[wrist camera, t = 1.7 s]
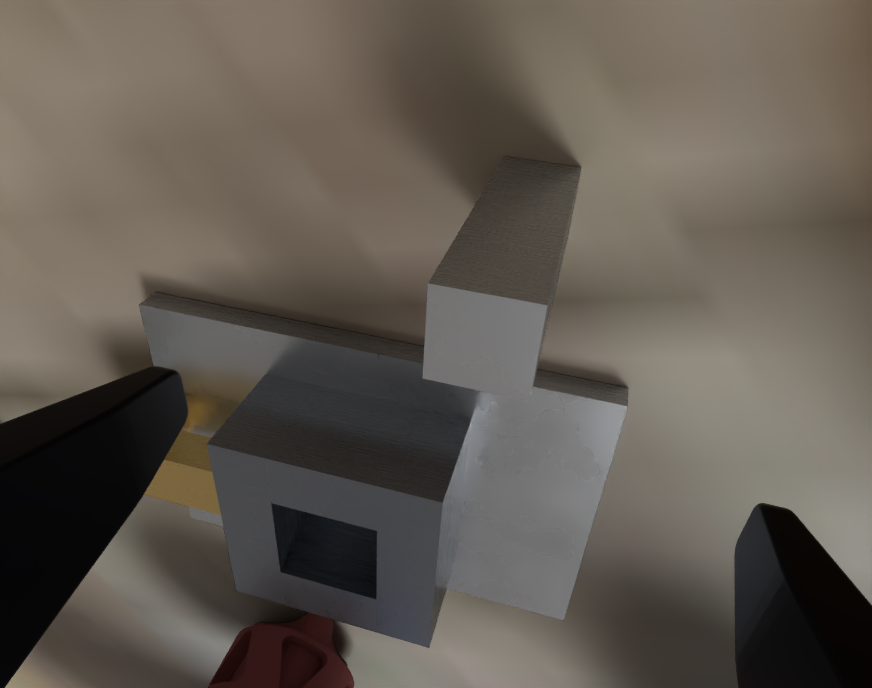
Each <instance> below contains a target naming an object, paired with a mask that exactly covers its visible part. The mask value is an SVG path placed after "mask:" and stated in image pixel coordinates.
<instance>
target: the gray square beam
mask: <svg viewBox="0 0 872 688" xmlns="http://www.w3.org/2000/svg"><path fill="white" fill-rule="evenodd" d="M580 172H581V167H575V166H568V165H561V164H554V163H547V162H540V161H533V160H526V159H519V158H512V157H505V156H504V157H503V159H502V161H501V162H500V164H499V166H498V167H497V169H496V171H495V172H494V174H493V176H492V177H491V179H490V181H489V182H488V184H487V186H486V187H485V189H484V191H483V192H482V194H481V196H480V197H479V199H478V201H477V202H476V204H475V206H474V207H473V209H472V211H471V212H470V214H469V216H468V217H467V219H466V221H465V222H464V224H463V226H462V227H461V229H460V231H459V232H458V234H457V236H456V237H455V239H454V241H453V242H452V244H451V246H450V247H449V249H448V251H447V252H446V254H445V256H444V257H443V259H442V261H441V262H440V264H439V266H438V267H437V269H436V271H435V272H434V274H433V276H432V277H431V279H430V281H429V283H428V292H427V309H426V326H425V344H424V361H423V379H427V380H432V381H437V382H441V383H446V384H451V385H456V386H460V387H465V388H470V389H474V390H479V391H484V392H488V393H493V394H498V395H502V396H507V397H512V398H517V399H521V400H526V401H530V398H531V394H532V390H533V385H534V381H535V377H536V372H537V368H538V364H539V359H540V355H541V351H542V347H543V342H544V338H545V334H546V329H547V325H548V321H549V317H550V312H551V308H552V304H553V299H554V295H555V291H556V287H557V282H558V278H559V274H560V269H561V265H562V261H563V257H564V252H565V248H566V244H567V239H568V234H569V229H570V224H571V219H572V213H573V208H574V203H575V198H576V193H577V187H578V182H579V177H580Z"/></svg>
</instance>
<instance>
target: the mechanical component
mask: <svg viewBox="0 0 872 688" xmlns="http://www.w3.org/2000/svg"><path fill="white" fill-rule="evenodd" d="M333 630H334V624H333V621H332V619H330V618H326V617H323V616H320V615H316V614H313V613H307V614H306V615H305V616H303V617H302V618H300V619H298V620H296V621H293V622H288V623H265V622H261V623H257V624H255V625H254V626H250V627H247V628H245V629H243V630H242V631H240V632H239V634H238V635H237V637H236V639H235V640H234V642H233V644H232V646H231V647H230V649H229V651H228V653H227V654H226V656H225V658H224V660H223V661H222V663H221V665H220V667H219V668H218V670H217V672H216V674H215V675H214V677H213V679H212V681H211V682H210V684H209V686H208V688H354V680H353V677H352V674H351V672H350V670H349V669H348V667H347V666H346V665H345V663H344V662H343V660H342V659H341V658H340V657H339V655H338V653H337V652H336V649H335V647H334V643H333Z"/></svg>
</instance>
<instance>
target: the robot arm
mask: <svg viewBox="0 0 872 688" xmlns="http://www.w3.org/2000/svg"><path fill="white" fill-rule="evenodd" d="M187 417H188V404H187V400H186V395H185V390H184V386H183V381H182V377H181V375H180V374H179V372H178V371H176V370H173V369H169V368H164V367H160V366H152V367H149V368H146V369H144V370H141V371H139V372H136V373H133V374H131V375H128V376H125V377H123V378H120V379H117V380H115V381H112V382H110V383H107V384H104V385H102V386H99V387H96V388H94V389H91V390H89V391H86V392H83V393H81V394H78V395H75V396H73V397H70V398H67V399H65V400H62V401H60V402H57V403H54V404H52V405H49V406H46V407H44V408H41V409H38V410H36V411H33V412H31V413H28V414H25V415H23V416H20V417H17V418H15V419H12V420H9V421H7V422H4V423H2V424H0V688H5V686H6V685H7V684H8V682H9V681H10V680H11V678H12V677H13V675H14V674H15V673H16V671H17V670H18V669H19V667H20V666H21V664H22V663H23V662H24V660H25V659H26V657H27V656H28V655H29V653H30V652H31V651H32V649H33V648H34V646H35V645H36V644H37V642H38V641H39V640H40V638H41V637H42V635H43V634H44V633H45V631H46V630H47V628H48V627H49V626H50V624H51V623H52V622H53V620H54V619H55V617H56V616H57V615H58V613H59V612H60V611H61V609H62V608H63V606H64V605H65V604H66V602H67V601H68V599H69V598H70V597H71V595H72V594H73V593H74V591H75V590H76V588H77V587H78V586H79V584H80V583H81V582H82V580H83V579H84V577H85V576H86V575H87V573H88V572H89V570H90V569H91V568H92V566H93V565H94V564H95V562H96V561H97V559H98V558H99V557H100V555H101V554H102V553H103V551H104V550H105V548H106V547H107V546H108V544H109V543H110V541H111V540H112V539H113V537H114V536H115V535H116V533H117V532H118V530H119V529H120V528H121V526H122V525H123V524H124V522H125V521H126V519H127V518H128V517H129V515H130V514H131V513H132V511H133V510H134V508H135V507H136V505H137V504H138V502H139V501H140V499H141V498H142V496H143V495H144V493H145V492H146V490H147V488H148V487H149V485H150V483H151V482H152V480H153V478H154V476H155V475H156V473H157V471H158V470H159V468H160V466H161V464H162V463H163V461H164V459H165V457H166V456H167V454H168V452H169V450H170V449H171V447H172V445H173V444H174V442H175V440H176V438H177V437H178V435H179V433H180V431H181V430H182V428H183V426H184V425H185V422H186V420H187ZM734 560H735V660H736V671H737V680H738V688H872V605H871V604H870V603H869V601H868V600H867V599H866V598H865V597H864V596H863V594H862V593H861V592H860V591H859V590H858V588H857V587H856V586H855V585H854V584H853V582H852V581H851V580H850V579H849V578H848V577H847V575H846V574H845V573H844V572H843V571H842V569H841V568H840V567H839V566H838V565H837V563H836V562H835V561H834V560H833V559H832V558H831V556H830V555H829V554H828V553H827V552H826V550H825V549H824V548H823V547H822V546H821V544H820V543H819V542H818V541H817V540H816V539H815V537H814V536H813V535H812V534H811V533H810V531H809V530H808V529H807V528H806V527H805V525H804V524H803V523H802V522H801V521H800V520H799V518H798V517H797V516H796V515H795V514H794V513H793V512H792V511H791V510H789V509H787V508H783V507H778V506H774V505H770V504H765V503H760V504H757V505H756V506H755V507H754V509H753V511H752V513H751V515H750V517H749V518H748V520H747V522H746V524H745V526H744V528H743V530H742V532H741V534H740V536H739V538H738V541H737V544H736V548H735V558H734Z"/></svg>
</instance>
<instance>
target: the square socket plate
mask: <svg viewBox="0 0 872 688" xmlns="http://www.w3.org/2000/svg"><path fill="white" fill-rule="evenodd" d="M139 308H140V312H141V316H142V320H143V324H144V328H145V332H146V337H147V341H148V345H149V349H150V353H151V357H152V361H153V365H154V366H160V367H164V368H169V369H173V370H176V371H178V372H179V374H180V375H181V377H182V381H183V386H184V390H185V395H186V400H187V404H188V417H187V420H186V422H185V425H184V426H183V428H182V430H181V431H180V433H179V435H178V437H177V438H176V440H175V442H174V444H173V445H172V447H171V449H170V450H169V452H168V454H167V456H166V457H165V459H164V461H163V463H162V464H161V466H160V468H159V470H158V471H157V473H156V475H155V476H154V478H153V480H152V482H151V483H150V485H149V487H148V488H147V490H146V492H145V493H144V495H148V496H152V497H155V498H159V499H163V500H166V501H170V502H174V503H177V504H181V505H185V506H188V508H189V512H190V517H191V518H193V519H197V520H200V521H204V522H208V523H211V524H215V525H218V526H222V527H224V532H225V537H226V542H227V547H228V552H229V557H230V562H231V567H232V571H233V576H234V581H235V586H236V591H238V592H242V593H245V594H248V595H252V596H255V597H259V598H262V599H265V600H269V601H272V602H276V603H279V604H282V605H286V606H289V607H292V608H296V609H299V610H303V611H306V612H309V613H313V614H316V615H320V616H323V617H326V618H330V619H333V620H337V621H340V622H343V623H347V624H350V625H353V626H357V627H360V628H364V629H367V630H370V631H374V632H377V633H381V634H384V635H387V636H391V637H394V638H398V639H401V640H404V641H408V642H411V643H414V644H418V645H421V646H425V647H428V648H429V647H430V643H431V640H432V636H433V633H434V630H435V626H436V623H437V619H438V616H439V612H440V609H441V606H442V602H443V599H444V595H445V592H446V589H451V590H455V591H458V592H462V593H465V594H469V595H473V596H476V597H480V598H484V599H487V600H491V601H494V602H498V603H502V604H505V605H509V606H513V607H516V608H520V609H524V610H527V611H531V612H534V613H538V614H542V615H545V616H549V617H553V618H556V619H560V620H563V621H564V618H565V614H566V611H567V608H568V604H569V601H570V598H571V594H572V591H573V588H574V584H575V581H576V578H577V574H578V571H579V568H580V564H581V561H582V558H583V554H584V551H585V548H586V544H587V541H588V538H589V534H590V531H591V528H592V524H593V521H594V518H595V514H596V511H597V508H598V504H599V501H600V498H601V494H602V491H603V488H604V484H605V481H606V478H607V474H608V471H609V468H610V465H611V461H612V458H613V455H614V451H615V448H616V445H617V441H618V438H619V435H620V431H621V428H622V425H623V421H624V418H625V415H626V411H627V408H628V388H625V387H620V386H615V385H610V384H605V383H601V382H596V381H591V380H586V379H581V378H576V377H571V376H566V375H561V374H556V373H551V372H546V371H541V370H537V372H536V377H535V381H534V385H533V390H532V394H531V398H530V401H526V400H521V399H517V398H512V397H507V396H502V395H498V394H493V393H488V392H484V391H479V390H474V389H470V388H465V387H460V386H456V385H451V384H446V383H441V382H437V381H432V380H427V379H423V361H424V347H423V346H418V345H413V344H408V343H403V342H399V341H394V340H389V339H384V338H379V337H374V336H369V335H364V334H359V333H354V332H349V331H344V330H339V329H334V328H330V327H325V326H320V325H315V324H310V323H305V322H300V321H295V320H290V319H285V318H280V317H275V316H270V315H265V314H261V313H256V312H251V311H246V310H241V309H236V308H231V307H226V306H221V305H216V304H211V303H206V302H201V301H197V300H192V299H187V298H182V297H177V296H172V295H167V294H162V293H157V292H155V293H153V294H152V295H151V296H149V297H148V298H147V299H145V300H144V301H143V302H141V303H140V304H139Z"/></svg>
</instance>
